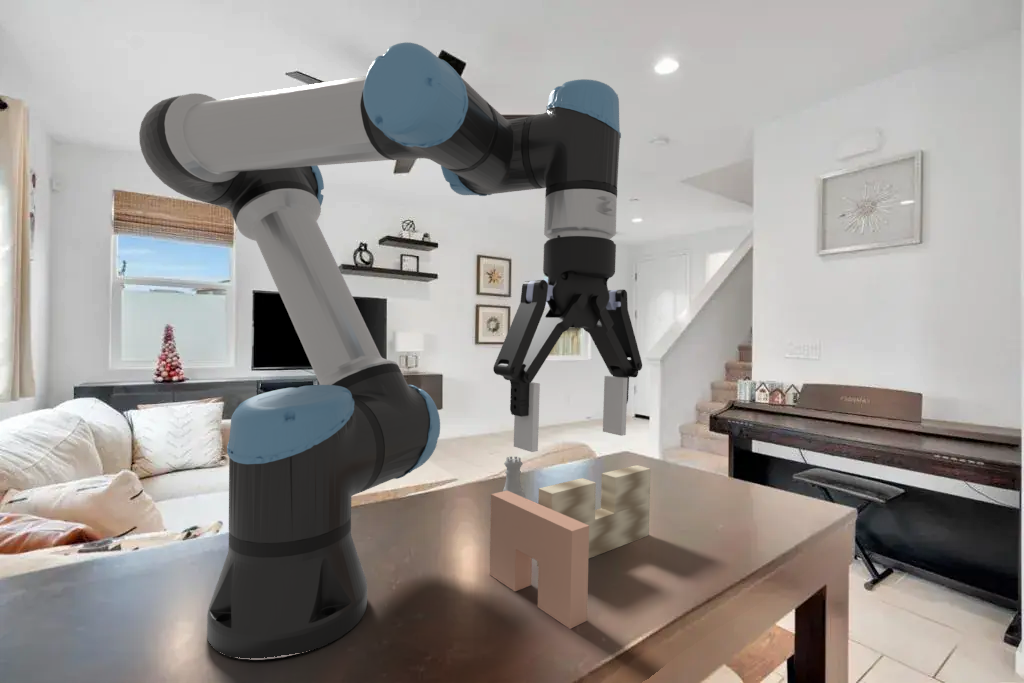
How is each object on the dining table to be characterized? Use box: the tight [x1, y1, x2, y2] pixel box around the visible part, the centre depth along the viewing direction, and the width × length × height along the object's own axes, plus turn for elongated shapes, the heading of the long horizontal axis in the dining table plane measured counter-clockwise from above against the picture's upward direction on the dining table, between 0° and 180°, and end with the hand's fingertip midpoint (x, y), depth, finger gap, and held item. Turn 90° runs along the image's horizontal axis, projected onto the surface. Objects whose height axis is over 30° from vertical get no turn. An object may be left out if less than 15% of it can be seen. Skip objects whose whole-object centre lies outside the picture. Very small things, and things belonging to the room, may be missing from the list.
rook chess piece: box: [502, 456, 526, 498], centre depth 87 cm, size 4×4×8 cm
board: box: [536, 464, 652, 567], centre depth 69 cm, size 20×2×10 cm, turn 128°
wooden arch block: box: [489, 491, 589, 630], centre depth 56 cm, size 14×2×10 cm, turn 38°
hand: (573, 440), depth 53 cm, fingers open, 13 cm apart
